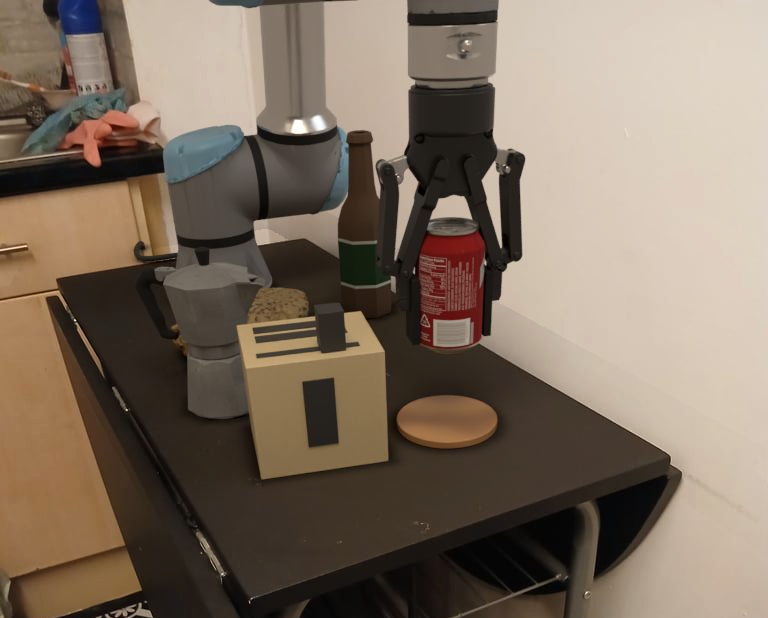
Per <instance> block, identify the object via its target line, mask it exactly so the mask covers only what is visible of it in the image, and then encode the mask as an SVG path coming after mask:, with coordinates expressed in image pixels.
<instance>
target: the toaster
mask: <svg viewBox="0 0 768 618" xmlns="http://www.w3.org/2000/svg"><path fill="white" fill-rule="evenodd" d="M344 319H345V335H346V350H339V351H331V352H323V353H322V352H321V350H320V348H319V346H318V343H317V333H316V322H315V315H314V316H307V317H305V318H296V319H288V320H279V321H270V322H261V323H253V324H244V325H237V333H238V340H239V347H240V354H241V361H242V368H243V375H244V382H245V389H246V395H247V402H248V409H249V413H248V414H249V415H248V416H249V422H250V429H251V434H252V440H253V444H254V450H255V455H256V459H257V464H258V469H259V474H260V480H262V481H263V480H269V479H276V478H282V477H290V476H295V475H296V476H297V475H303V474H309V473H310V474H311V473H316V472H317V473H318V472H323V471H329V470H330V471H331V470H337V469H342V468H343V469H344V468H350V467H357V466H364V465H365V466H366V465H371V464H378V463H384V462H389V437H388V435H389V434H388V407H387V405H388V404H387V378H386V377H387V375H386V353H385V349H384V348H383V346H382V343H380V341H379V339H378V337H377V336H376V334H375V333H374V331H373V329H372V327H371V326H370V324H369V322H368V321H367V318H365V317H364V316H363V314H362V312H361V311H358V312H349V313H344Z"/></svg>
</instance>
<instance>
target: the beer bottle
mask: <svg viewBox="0 0 768 618" xmlns="http://www.w3.org/2000/svg"><path fill="white" fill-rule="evenodd" d="M346 135H347V139H346V143H347V144H348V192H347V195H346V197H345V199H344V201H343V203H342V204H341V205H342V206H341V208H340V212H339V216H338V220H337V248H338V249H337V250H338V264H339V265H338V266H339V277H340V278H339V280H340V294H341V307H342V309H343V310H344V313H349V312H358V311H361V312H362V314H363V316H364V317H365V319H378V318H380V317H383V316H385V315H388V314H390V313H391V312H392V276H390V275H388V276H386V275H384V274H383V273H382V272H381V271H380V269H379V268H378V267H377V265H376V251H377V235H378V219H379V203H380V196H378V194H377V188H376V183H375V173H374V172H375V171H374V162H373V151H372V143H373V142H374V137H373V134H372V131H369V130H365V129H359V130H358V129H357V130H351V131H349V132H347V133H346Z"/></svg>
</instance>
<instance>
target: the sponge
mask: <svg viewBox="0 0 768 618" xmlns="http://www.w3.org/2000/svg"><path fill="white" fill-rule="evenodd" d="M309 303H310V300H309V301H308V297H307V293H305V292H304V291H303V290H300V289H296V288H287V287H280V286H279V287H273V288H266V289H259V291H258V293H257V295H256V296H255V299H254V301H253V303H252V306H251V308H250V310H249V312H248V324H253V323H261V322H270V321H279V320H288V319H296V318H305V317H308V313H309V312H310V311H309V310H310V309H309V308H310V307H309ZM170 330H171V331H174V332H178V333H179V334H178V338H177V339H176V340H172V339H171V341H172V342H173V343H174V345H175V346H176V348H177V349H178V350H181V352H182V354H183V356H184V357H186V358H187V356H188V347H187V342H185V341H184V340H183V339H182V336H181V333H180V331H179V328H178V325H177V323H176V324H174V325H172V326H171V327H170Z"/></svg>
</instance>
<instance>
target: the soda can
mask: <svg viewBox="0 0 768 618" xmlns="http://www.w3.org/2000/svg"><path fill="white" fill-rule="evenodd" d="M478 229H479V224H478V223H477V222H476V221H474V220H472V218H467V217H459V216H445V217H435V218H430V221H429V224H428V227H427V230H426V233H425V237H424V240H423V243H422V246H421V249H420V252H419V255H418V258H417V261H416V264H415V267H414V274H415V275H416V277H417V278H418V279H419V280H420V344H419V345H420V346H421V347H423V348H425V349H427V350H428V351H430V352H433V353H437V354H445V355H450V354H459V353H463V352H466V351H468V350H470V349H472V348H473V347H476V346H477V345H479V343H481V341H482V338H483V335H482V315H483V289H484V264H486V261H485V242H484V240H483V238H482V236H481V235H480V233H479V231H478Z"/></svg>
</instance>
